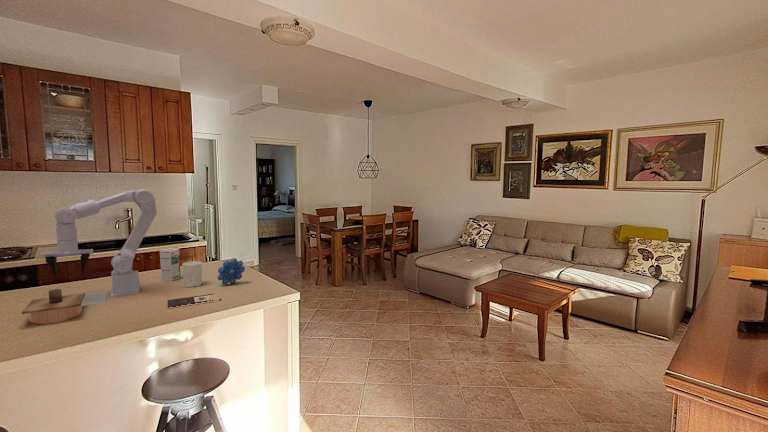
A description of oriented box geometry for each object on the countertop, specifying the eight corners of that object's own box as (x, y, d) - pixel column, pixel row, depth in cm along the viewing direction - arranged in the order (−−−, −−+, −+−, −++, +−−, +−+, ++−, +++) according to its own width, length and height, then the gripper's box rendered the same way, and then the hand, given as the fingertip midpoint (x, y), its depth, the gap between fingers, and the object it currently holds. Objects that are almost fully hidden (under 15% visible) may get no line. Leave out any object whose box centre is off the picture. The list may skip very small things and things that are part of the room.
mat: (107, 291, 148) (107, 291, 148) (104, 303, 134) (104, 302, 134) (52, 299, 138) (52, 298, 138) (43, 312, 124) (43, 311, 124)
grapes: (243, 280, 168) (242, 255, 167) (246, 283, 162) (245, 258, 161) (216, 283, 162) (215, 257, 161) (218, 287, 156) (217, 260, 155)
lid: (85, 294, 130) (84, 282, 130) (80, 305, 119) (79, 292, 118) (32, 301, 122) (31, 288, 122) (21, 314, 111) (20, 299, 110)
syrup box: (171, 281, 165) (170, 250, 163) (160, 280, 166) (159, 249, 165) (181, 278, 170) (179, 248, 169) (170, 277, 172) (169, 247, 170)
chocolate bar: (167, 300, 137) (218, 293, 147) (167, 302, 137) (218, 295, 147) (167, 307, 130) (221, 299, 139) (167, 309, 130) (221, 301, 139)
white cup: (189, 288, 154) (188, 266, 153) (179, 285, 158) (178, 263, 157) (206, 284, 160) (205, 262, 160) (196, 281, 165) (195, 260, 164)
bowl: (83, 307, 130) (83, 295, 129) (79, 318, 119) (78, 305, 119) (34, 314, 122) (33, 301, 122) (25, 327, 112) (24, 313, 111)
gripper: (38, 242, 126) (41, 280, 127) (91, 239, 134) (93, 274, 135) (42, 240, 132) (45, 275, 133) (92, 237, 140) (94, 270, 141)
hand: (69, 275), depth 135 cm, fingers open, 7 cm apart
